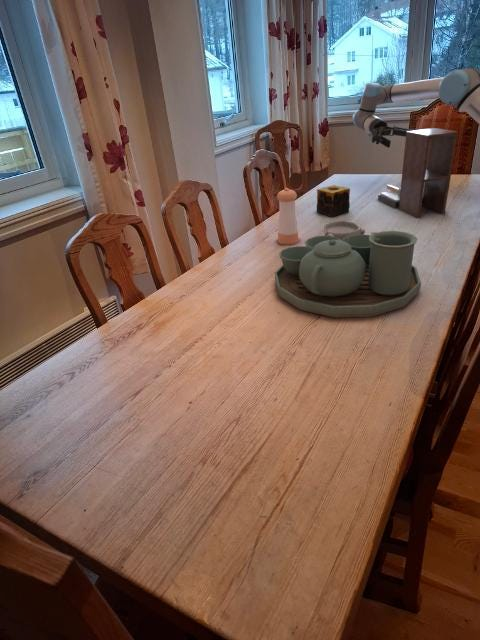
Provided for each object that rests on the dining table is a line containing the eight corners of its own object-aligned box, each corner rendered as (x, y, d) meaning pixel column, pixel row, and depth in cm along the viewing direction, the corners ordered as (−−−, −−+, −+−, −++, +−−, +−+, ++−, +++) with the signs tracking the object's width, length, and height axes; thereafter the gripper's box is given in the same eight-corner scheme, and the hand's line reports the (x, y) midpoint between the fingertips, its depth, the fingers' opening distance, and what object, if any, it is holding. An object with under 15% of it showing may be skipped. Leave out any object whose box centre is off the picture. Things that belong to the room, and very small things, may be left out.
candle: (331, 217, 177) (332, 193, 172) (315, 212, 185) (315, 189, 180) (349, 212, 182) (351, 188, 177) (333, 207, 189) (334, 184, 184)
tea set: (409, 258, 135) (415, 206, 127) (427, 323, 102) (437, 258, 94) (284, 257, 144) (282, 209, 136) (263, 317, 111) (259, 257, 103)
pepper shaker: (302, 239, 158) (301, 186, 148) (289, 245, 153) (288, 191, 144) (286, 236, 162) (284, 184, 153) (274, 242, 158) (271, 189, 148)
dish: (330, 249, 148) (330, 235, 145) (315, 236, 159) (315, 223, 157) (369, 242, 150) (370, 228, 147) (352, 230, 161) (353, 217, 159)
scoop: (419, 198, 180) (420, 189, 178) (406, 200, 179) (407, 191, 177) (394, 187, 198) (395, 179, 196) (382, 189, 197) (382, 181, 195)
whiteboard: (425, 203, 183) (426, 196, 181) (395, 208, 181) (396, 200, 179) (406, 195, 196) (406, 188, 194) (377, 199, 194) (378, 192, 192)
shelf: (444, 213, 170) (457, 131, 155) (417, 217, 168) (427, 135, 153) (424, 204, 182) (434, 127, 167) (398, 208, 180) (406, 131, 165)
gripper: (397, 131, 202) (426, 146, 187) (350, 139, 197) (376, 155, 181) (400, 114, 197) (430, 128, 182) (352, 122, 192) (379, 137, 176)
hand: (403, 141), depth 182 cm, fingers open, 13 cm apart
